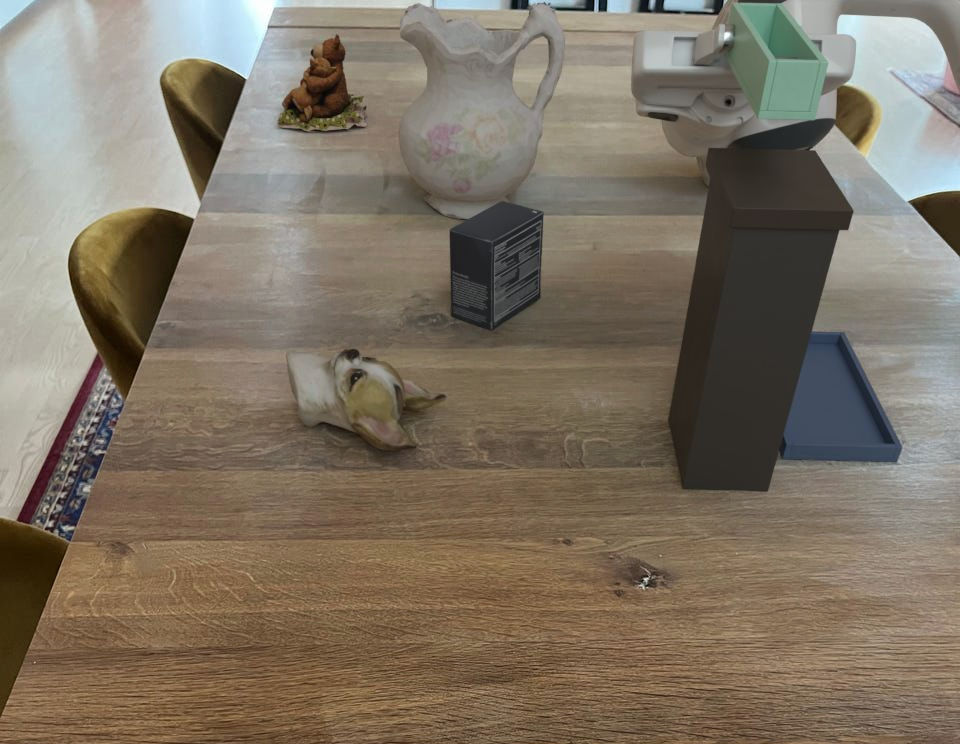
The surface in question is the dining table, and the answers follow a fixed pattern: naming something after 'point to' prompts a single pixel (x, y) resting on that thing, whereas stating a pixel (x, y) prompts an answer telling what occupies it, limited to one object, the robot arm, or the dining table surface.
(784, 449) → the tray
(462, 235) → the small box
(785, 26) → the slim bin
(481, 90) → the ceramic pitcher
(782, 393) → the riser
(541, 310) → the dining table surface
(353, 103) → the bear figurine
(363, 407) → the ceramic sculpture
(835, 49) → the robot arm
